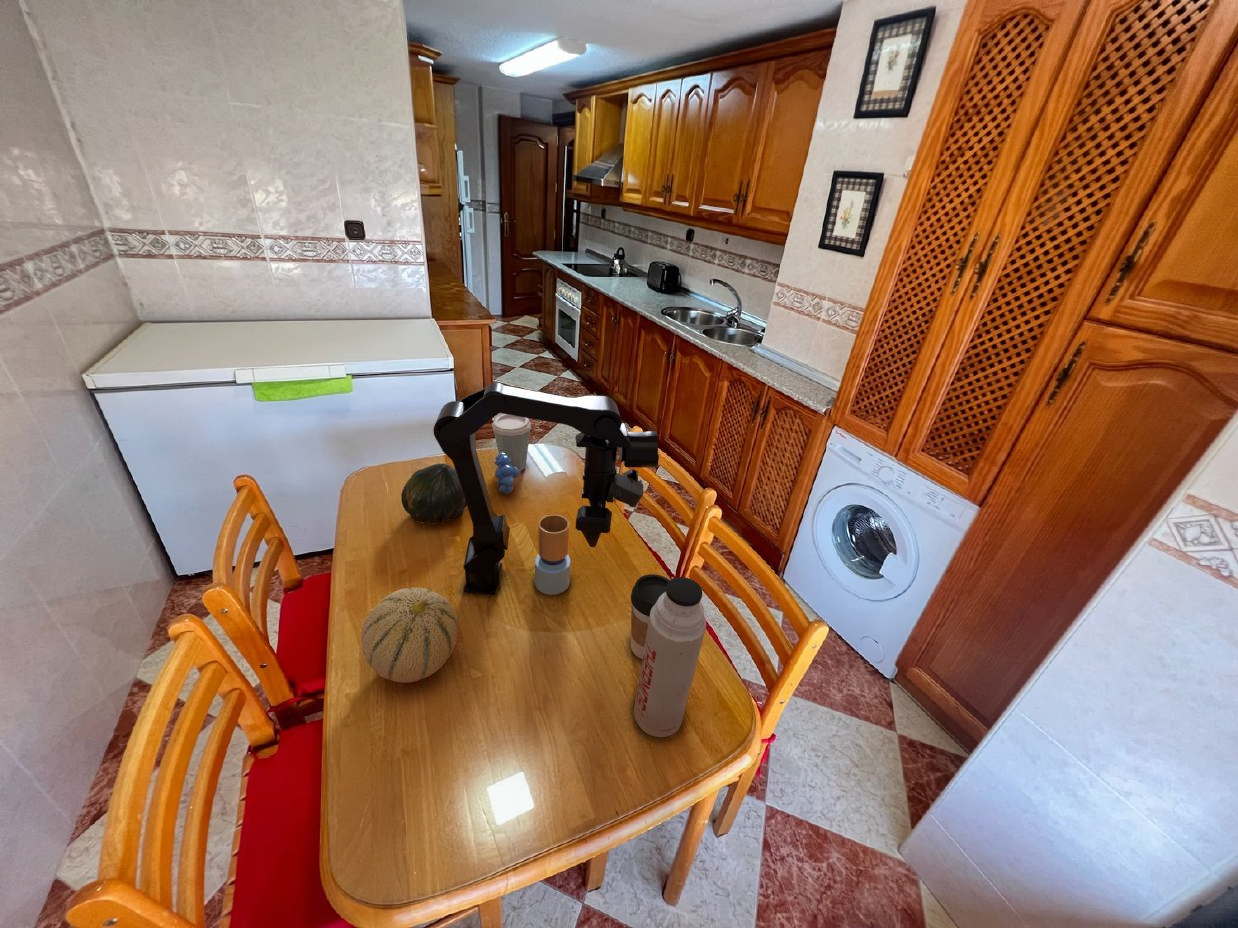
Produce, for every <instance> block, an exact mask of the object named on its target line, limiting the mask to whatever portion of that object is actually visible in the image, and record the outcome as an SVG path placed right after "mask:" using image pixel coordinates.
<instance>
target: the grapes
mask: <svg viewBox="0 0 1238 928" xmlns="http://www.w3.org/2000/svg"><path fill="white" fill-rule="evenodd" d="M510 462H511V459H510V458H509V457H508V456H507V455H506V454H505V453H503V452H501V453H499V452H498V454H497V455H496V457H495V461H494V464H495V465H496V466H497V468H496V470H495V471H494V473H495V474H494V476H495V477H496V478H497V479H498V480H497V481H496V484H497V485H498V486H499V488H498V491H499V492H500V493H501V494H502V495H503V494H505V495H509V494H511V493H512V491H513V490H514V486H513V485H514V482H515V481H516V480H515V478H517V477H518V476H519V475H520V474H521V473H522V470H521V471H520V470H519V469H518V468H516V467H512V466H511V464H509V463H510Z"/></svg>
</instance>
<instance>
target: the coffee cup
mask: <svg viewBox="0 0 1238 928" xmlns="http://www.w3.org/2000/svg"><path fill="white" fill-rule="evenodd" d="M670 580H671V579H669V578H667V577H665V576H663V575H660V574H656V573H650V574H644V575H642V576H640V577H639V578H638V579H637V580H636V582H635V583H634V585H633V587H632V589H631V593H630V602H631V606H630V607H631V608H630V609H631V611H630V633H631V634H630V649H631V651H632V653H633V654H634V655H635V656H636V657H637V658H639V659H641V660H643V652H644V647H645V641H646V635H647V629H648V623H649V617H650V612H651V609H652V607H653V606H654V605H655V604H656V602H657V600H658V599H659V597H660V596H661V595H662V594H663V593H665V592H666V587H667V584H668V582H669V581H670Z"/></svg>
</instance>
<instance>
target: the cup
mask: <svg viewBox="0 0 1238 928" xmlns="http://www.w3.org/2000/svg"><path fill="white" fill-rule="evenodd" d="M570 526H571V525H570V521H569V519H568V518H567V517H565V516H563V515H560V514H554V513H553V514H547V515H545V516H543V517H541V518H540V519H539V520H538V524H537V551H538V554H539V555H540V557H541V558H543V559H544V560H547V561H559V560H562V559H564V558H565V557H566V556H567V554H568V555H569V550H570V549H569V548H570Z"/></svg>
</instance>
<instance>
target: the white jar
mask: <svg viewBox="0 0 1238 928" xmlns="http://www.w3.org/2000/svg"><path fill="white" fill-rule="evenodd" d="M571 562H572V561H571V557H570V556H569V553H568V554H567V556H566V557H565V558H564V559H562V560H559V561H547V560H544V559H543V558H541V557H540V555H539V553H538V554H537V556H536V557H535V559H534V584H535V588H536V589H537V590H538V591H539V592H540V593H542V594H545V595H549V596H552V595H553V596H556V595H559V594H562V593H564V592H565V591H567V589H568V588H569V586H570V583H571Z"/></svg>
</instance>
